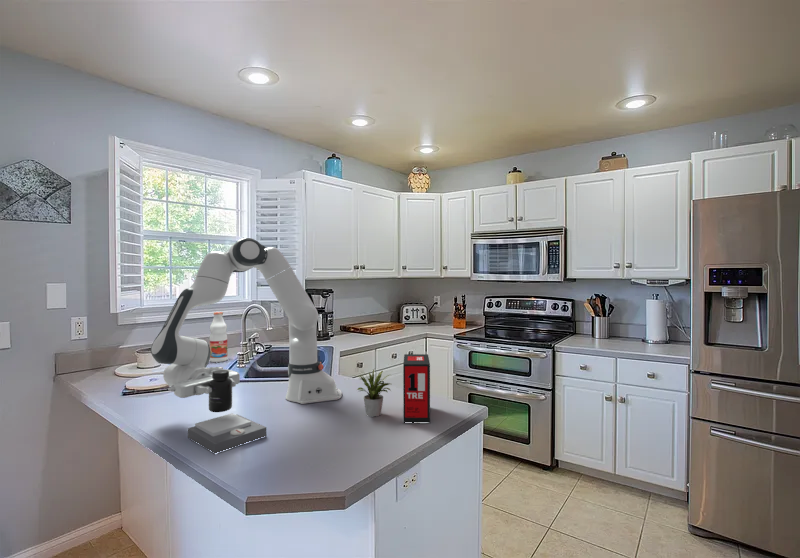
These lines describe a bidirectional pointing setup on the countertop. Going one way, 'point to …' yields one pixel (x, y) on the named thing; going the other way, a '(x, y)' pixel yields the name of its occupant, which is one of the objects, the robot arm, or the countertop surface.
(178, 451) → the countertop surface
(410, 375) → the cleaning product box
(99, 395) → the countertop surface
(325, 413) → the countertop surface
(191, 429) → the kitchen scale
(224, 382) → the supplement bottle
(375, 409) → the house plant
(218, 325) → the fruit juice
